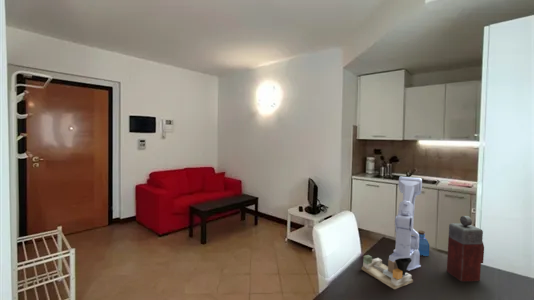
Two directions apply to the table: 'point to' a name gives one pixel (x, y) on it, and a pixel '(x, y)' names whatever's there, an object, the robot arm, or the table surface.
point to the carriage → (390, 268)
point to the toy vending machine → (465, 250)
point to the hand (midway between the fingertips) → (401, 273)
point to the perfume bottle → (423, 244)
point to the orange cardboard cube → (397, 273)
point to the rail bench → (376, 270)
